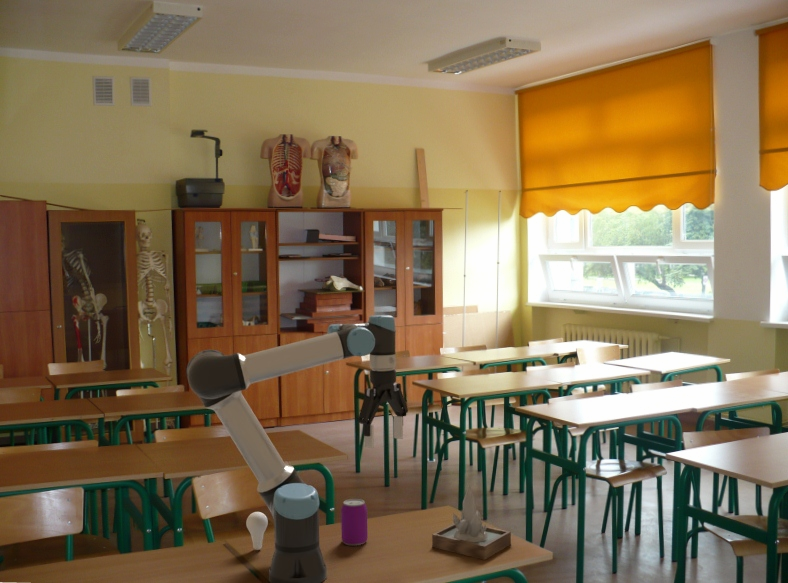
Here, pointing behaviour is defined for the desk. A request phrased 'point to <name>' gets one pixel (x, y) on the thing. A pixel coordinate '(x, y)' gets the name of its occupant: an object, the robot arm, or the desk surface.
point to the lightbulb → (257, 528)
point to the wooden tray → (474, 549)
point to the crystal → (469, 521)
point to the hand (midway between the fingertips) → (384, 442)
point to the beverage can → (354, 522)
